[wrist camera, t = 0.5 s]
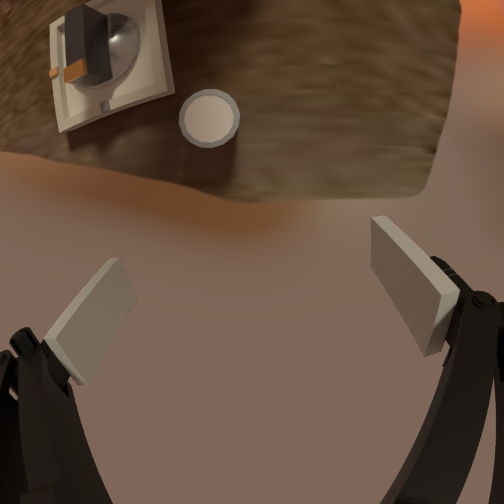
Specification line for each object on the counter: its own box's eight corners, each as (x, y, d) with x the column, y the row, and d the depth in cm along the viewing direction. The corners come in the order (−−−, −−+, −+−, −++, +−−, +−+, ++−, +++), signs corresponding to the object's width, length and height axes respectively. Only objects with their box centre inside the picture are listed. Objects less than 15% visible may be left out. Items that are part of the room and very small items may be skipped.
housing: (61, 28, 26) (48, 24, 22) (159, -17, 24) (150, -28, 21) (72, 130, 34) (57, 133, 31) (175, 93, 33) (166, 90, 29)
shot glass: (182, 125, 35) (166, 126, 28) (213, 85, 32) (203, 77, 26) (222, 153, 36) (214, 160, 30) (254, 114, 34) (252, 112, 28)
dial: (68, 35, 25) (36, 27, 18) (136, 2, 24) (111, -17, 17) (74, 101, 30) (39, 101, 23) (144, 71, 29) (117, 61, 22)
